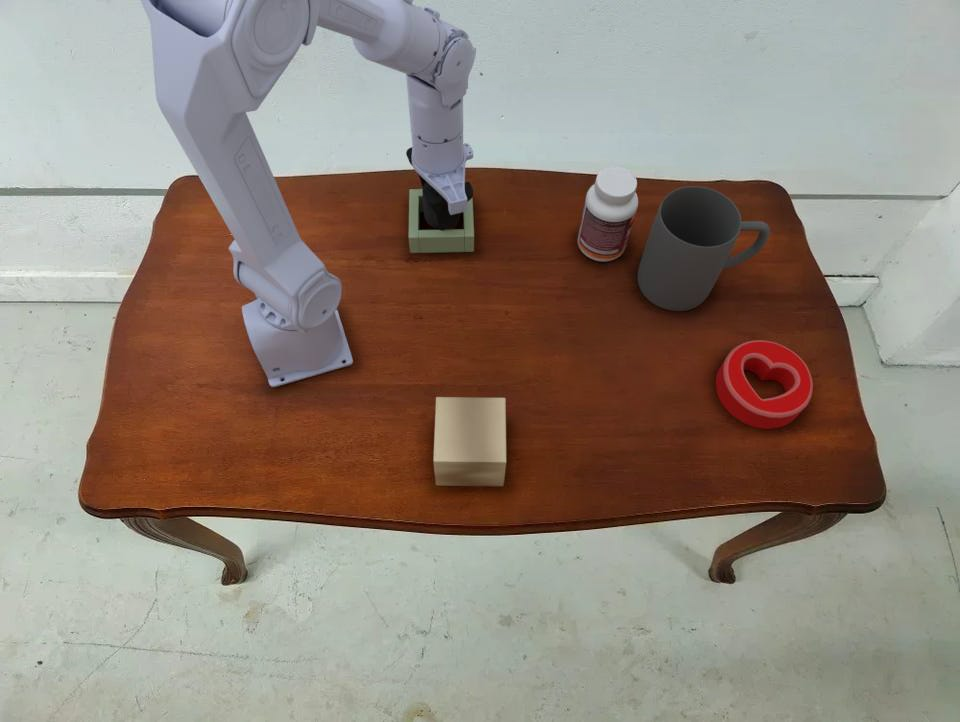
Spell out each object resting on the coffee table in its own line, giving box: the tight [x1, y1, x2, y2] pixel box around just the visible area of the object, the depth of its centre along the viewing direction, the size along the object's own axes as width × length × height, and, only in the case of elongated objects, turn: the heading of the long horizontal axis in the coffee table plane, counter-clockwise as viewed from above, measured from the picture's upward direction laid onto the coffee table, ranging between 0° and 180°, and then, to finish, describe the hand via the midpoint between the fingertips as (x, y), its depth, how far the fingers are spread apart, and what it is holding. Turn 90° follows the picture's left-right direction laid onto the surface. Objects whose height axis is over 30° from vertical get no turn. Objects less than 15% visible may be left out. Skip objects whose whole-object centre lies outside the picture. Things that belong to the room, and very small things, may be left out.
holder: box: [408, 188, 475, 254], centre depth 89 cm, size 8×8×3 cm
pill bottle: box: [577, 166, 639, 263], centre depth 85 cm, size 6×6×11 cm
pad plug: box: [421, 182, 461, 230], centre depth 87 cm, size 4×4×4 cm
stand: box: [432, 396, 507, 487], centre depth 72 cm, size 7×7×6 cm
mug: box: [637, 185, 771, 312], centre depth 82 cm, size 14×9×12 cm
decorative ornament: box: [715, 339, 814, 430], centre depth 78 cm, size 10×10×3 cm
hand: (441, 212), depth 88 cm, fingers closed on pad plug, 4 cm apart
